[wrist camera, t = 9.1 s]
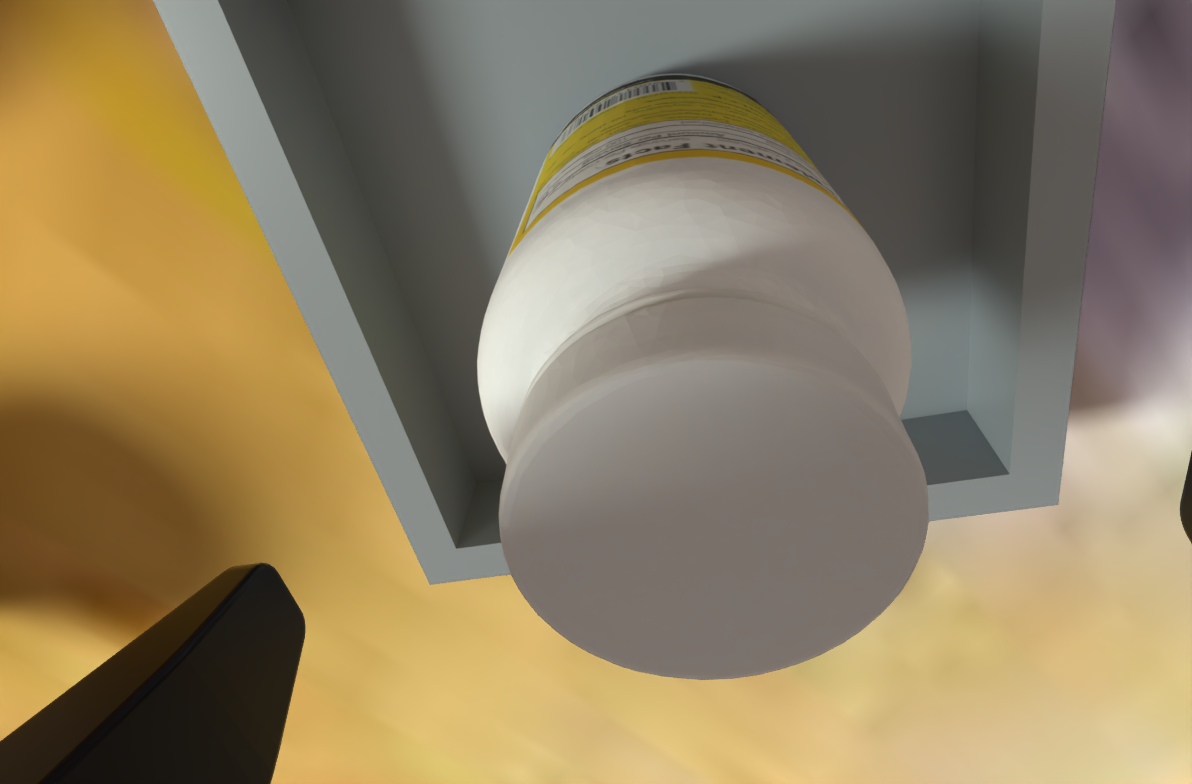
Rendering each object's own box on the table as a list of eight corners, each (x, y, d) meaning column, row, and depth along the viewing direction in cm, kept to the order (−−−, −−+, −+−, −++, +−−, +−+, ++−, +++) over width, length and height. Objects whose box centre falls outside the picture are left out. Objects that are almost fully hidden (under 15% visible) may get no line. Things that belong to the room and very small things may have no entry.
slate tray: (209, -91, 13) (108, -95, 11) (1045, -341, 11) (1164, -419, 9) (456, 502, 21) (430, 584, 18) (1000, 424, 18) (1058, 504, 16)
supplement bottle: (722, 365, 17) (797, 779, 9) (500, 269, 16) (346, 631, 8) (861, 143, 14) (1160, 437, 6) (604, 13, 13) (538, 148, 5)
